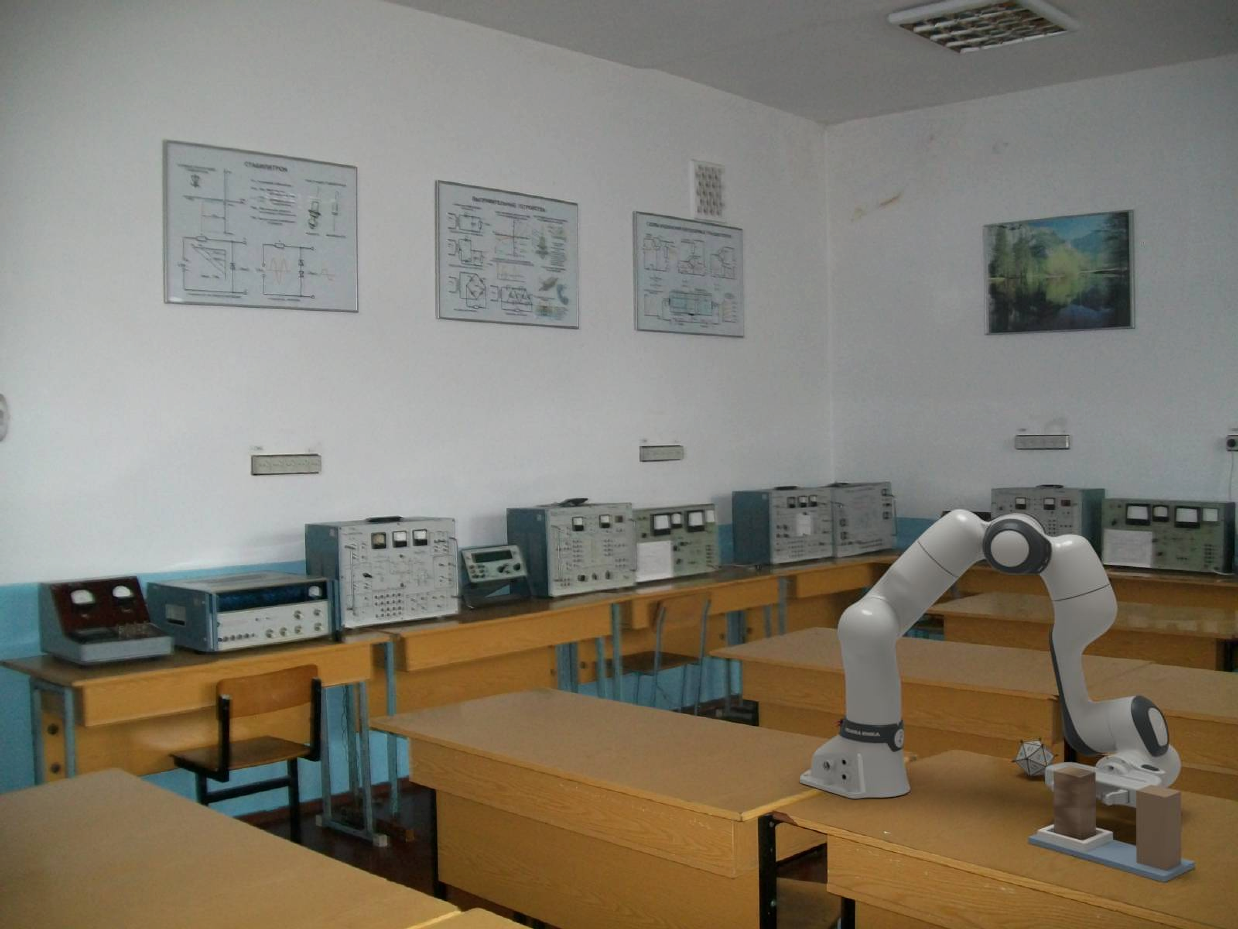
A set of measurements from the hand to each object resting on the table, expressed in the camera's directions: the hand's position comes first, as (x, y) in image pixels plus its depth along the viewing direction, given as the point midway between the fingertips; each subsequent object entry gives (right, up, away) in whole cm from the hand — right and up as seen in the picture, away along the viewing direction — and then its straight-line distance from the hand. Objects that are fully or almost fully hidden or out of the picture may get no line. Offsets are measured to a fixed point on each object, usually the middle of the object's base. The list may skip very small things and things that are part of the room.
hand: (1079, 793), depth 209 cm
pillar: (-1, -8, 0) cm, 8 cm away
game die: (+7, -8, +41) cm, 42 cm away
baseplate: (+3, -9, -5) cm, 11 cm away
